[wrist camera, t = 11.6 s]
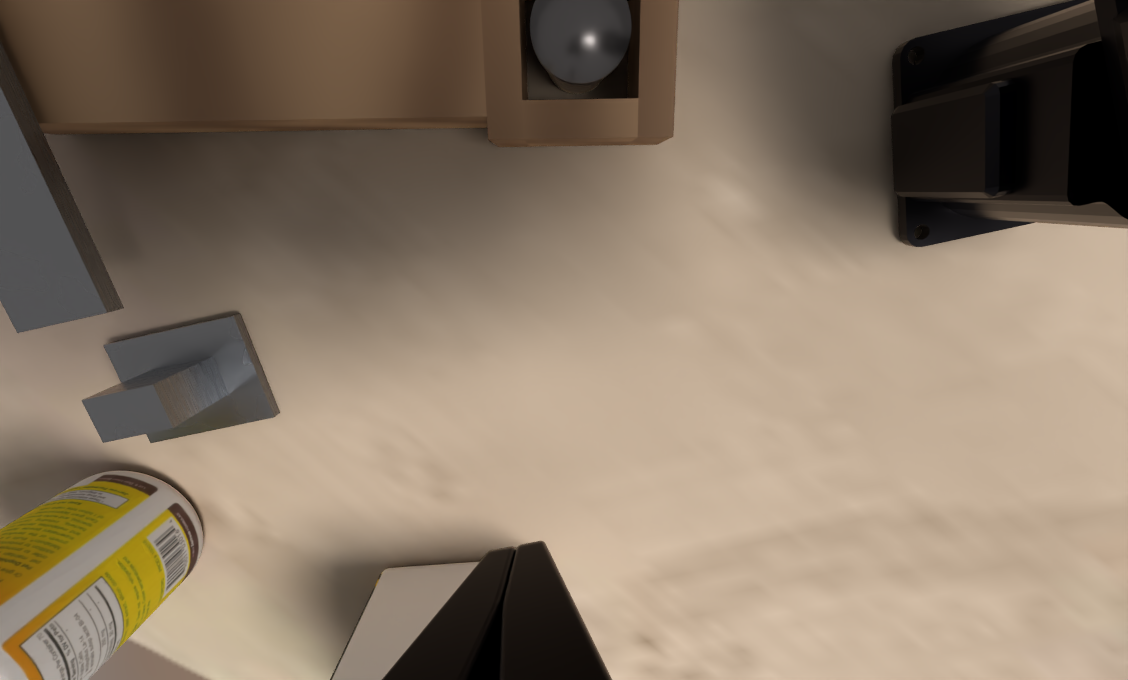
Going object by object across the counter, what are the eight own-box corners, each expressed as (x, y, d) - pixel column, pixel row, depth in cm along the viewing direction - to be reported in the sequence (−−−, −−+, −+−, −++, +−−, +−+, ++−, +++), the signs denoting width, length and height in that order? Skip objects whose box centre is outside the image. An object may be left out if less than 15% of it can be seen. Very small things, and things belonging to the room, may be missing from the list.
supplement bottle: (44, 513, 21) (-403, 790, 11) (134, 438, 20) (-267, 669, 11) (150, 602, 22) (-170, 922, 13) (240, 535, 22) (-30, 824, 12)
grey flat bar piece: (4, -274, 14) (-192, -437, 11) (279, 412, 20) (214, 463, 16) (-159, -225, 15) (-406, -368, 11) (158, 438, 20) (67, 494, 17)
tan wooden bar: (663, -40, 16) (682, -84, 13) (657, 144, 17) (673, 136, 15) (12, -30, 16) (-91, -70, 13) (61, 154, 17) (-25, 147, 15)
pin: (609, 5, 16) (620, -44, 13) (624, 94, 17) (639, 69, 14) (528, 25, 16) (519, -18, 13) (546, 112, 17) (542, 93, 14)
